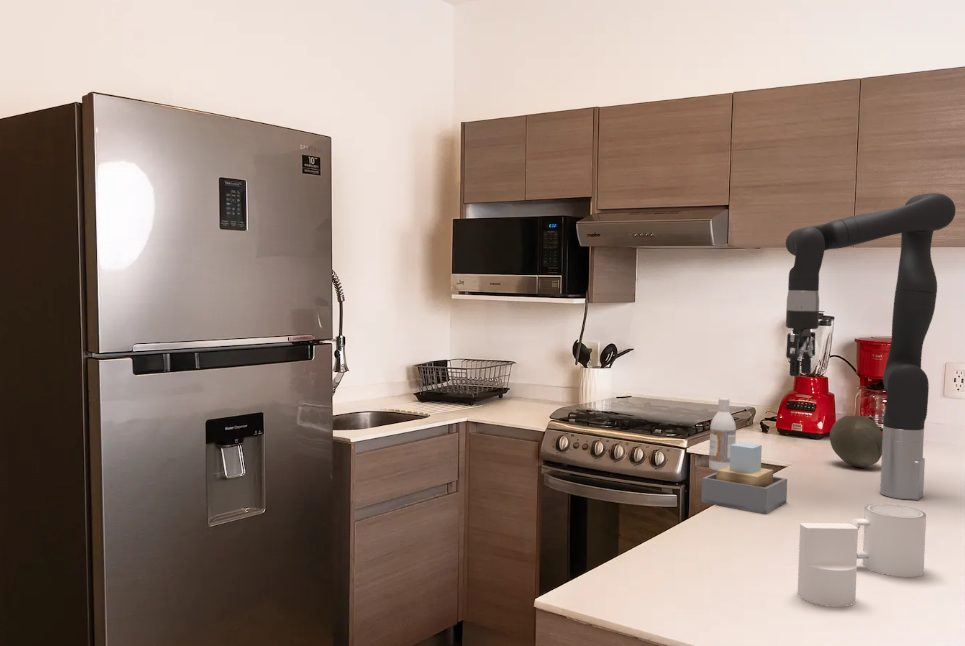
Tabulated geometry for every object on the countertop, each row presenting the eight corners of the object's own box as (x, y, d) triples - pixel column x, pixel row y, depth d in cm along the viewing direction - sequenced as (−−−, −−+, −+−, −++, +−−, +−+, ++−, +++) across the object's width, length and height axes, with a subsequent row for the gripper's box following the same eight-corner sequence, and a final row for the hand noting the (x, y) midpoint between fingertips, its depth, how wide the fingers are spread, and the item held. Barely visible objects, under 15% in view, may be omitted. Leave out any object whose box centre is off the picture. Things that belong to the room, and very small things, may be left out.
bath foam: (704, 466, 242) (706, 397, 241) (725, 465, 244) (727, 396, 243) (717, 472, 235) (720, 400, 234) (739, 471, 237) (741, 400, 236)
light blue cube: (760, 469, 203) (761, 445, 203) (752, 473, 199) (753, 448, 198) (738, 466, 206) (739, 442, 206) (729, 470, 202) (730, 445, 202)
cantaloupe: (872, 462, 252) (874, 412, 251) (890, 473, 238) (892, 420, 237) (823, 461, 253) (825, 411, 253) (838, 471, 239) (840, 418, 239)
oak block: (772, 498, 203) (773, 469, 203) (756, 506, 196) (758, 476, 195) (732, 491, 210) (733, 463, 209) (715, 499, 202) (716, 470, 202)
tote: (786, 502, 203) (787, 478, 203) (766, 514, 193) (766, 488, 192) (724, 491, 213) (724, 468, 213) (701, 502, 202) (702, 478, 202)
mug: (864, 578, 151) (866, 519, 151) (835, 559, 161) (837, 504, 161) (935, 576, 153) (938, 518, 152) (902, 558, 163) (904, 503, 162)
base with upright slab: (840, 587, 146) (842, 518, 146) (865, 607, 137) (868, 534, 137) (788, 586, 146) (791, 518, 145) (810, 606, 137) (813, 533, 136)
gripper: (808, 310, 201) (806, 378, 202) (827, 309, 212) (824, 373, 213) (777, 309, 205) (775, 375, 206) (796, 308, 217) (794, 371, 217)
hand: (800, 374), depth 209 cm, fingers open, 8 cm apart
